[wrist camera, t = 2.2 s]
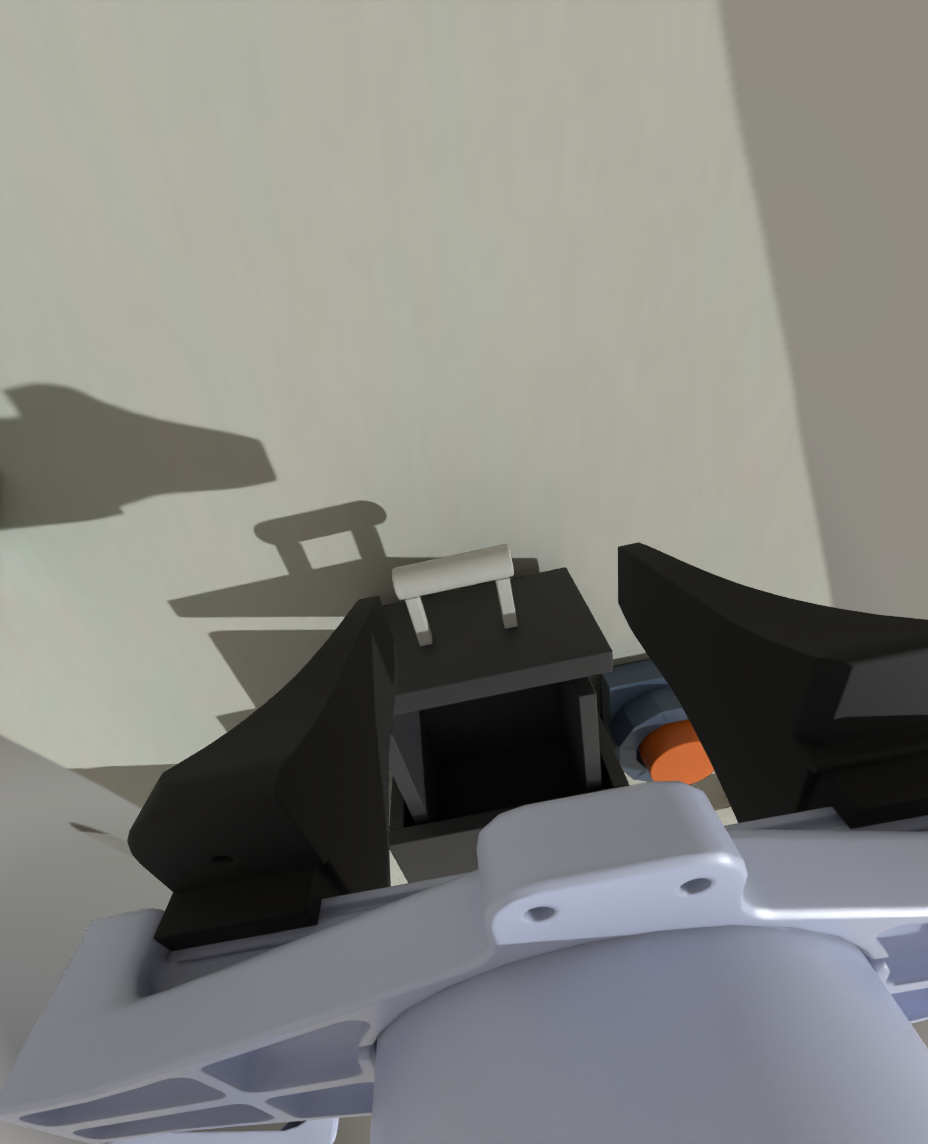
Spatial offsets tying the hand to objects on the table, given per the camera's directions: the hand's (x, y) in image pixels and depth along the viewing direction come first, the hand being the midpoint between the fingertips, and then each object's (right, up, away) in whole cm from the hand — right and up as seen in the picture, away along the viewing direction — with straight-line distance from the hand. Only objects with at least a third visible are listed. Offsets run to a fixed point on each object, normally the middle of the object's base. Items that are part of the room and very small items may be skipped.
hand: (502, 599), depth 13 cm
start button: (+12, -10, +15) cm, 22 cm away
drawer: (0, -4, +13) cm, 14 cm away
